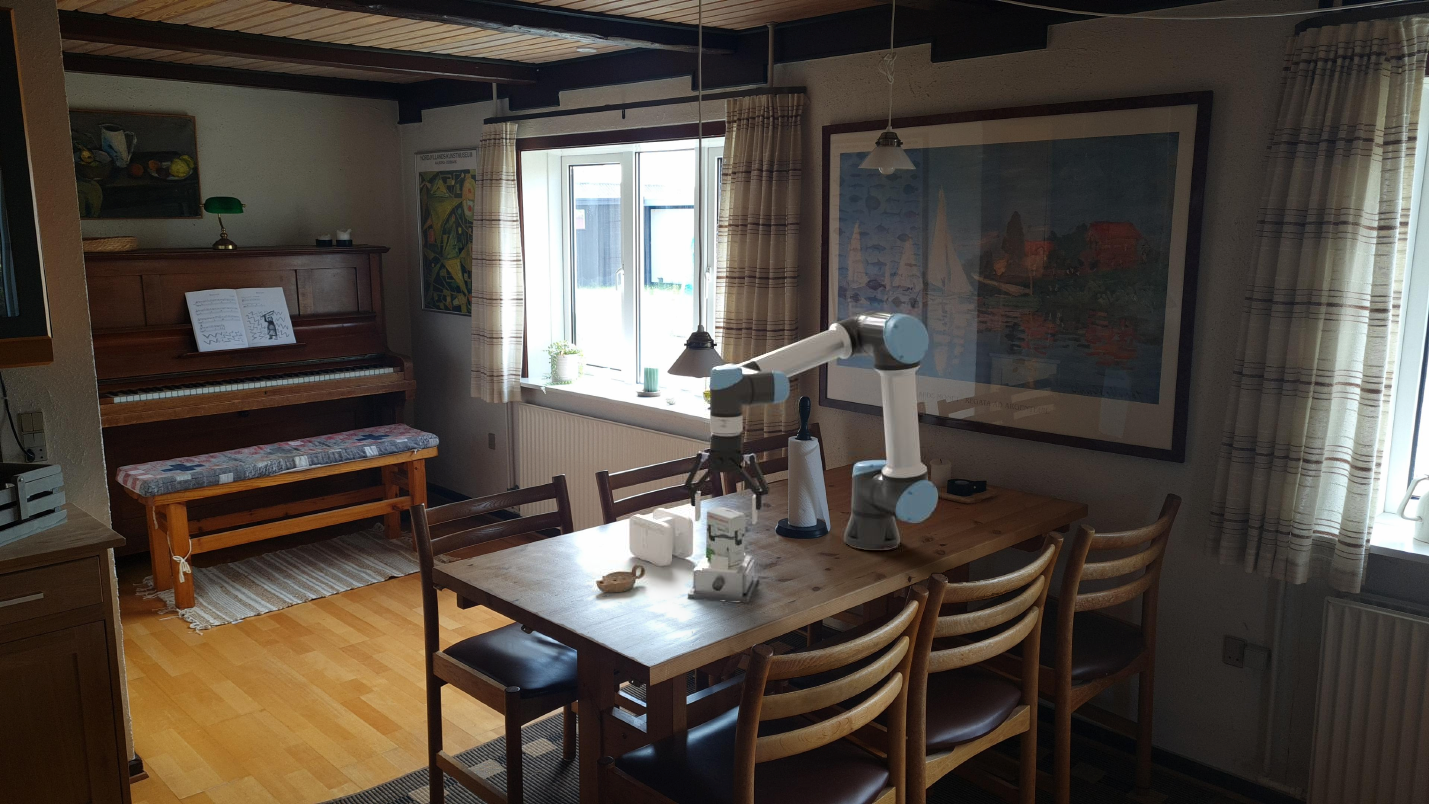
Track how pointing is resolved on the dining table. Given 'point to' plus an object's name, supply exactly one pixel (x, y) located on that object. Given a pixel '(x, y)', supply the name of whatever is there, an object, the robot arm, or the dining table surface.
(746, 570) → the white boxy piece
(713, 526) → the ink box
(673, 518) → the cable organizer
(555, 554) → the dining table surface
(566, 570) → the dining table surface
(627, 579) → the oil lamp
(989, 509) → the dining table surface
